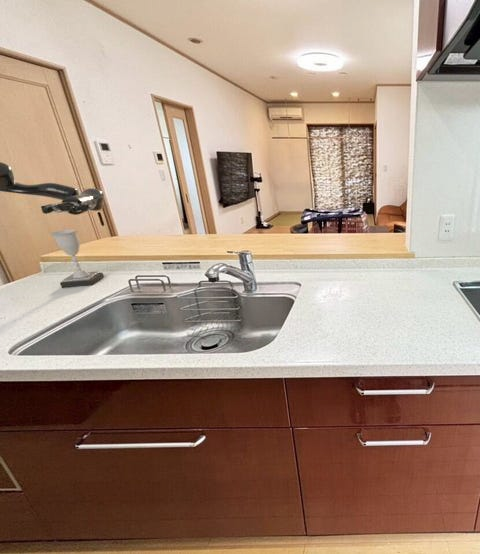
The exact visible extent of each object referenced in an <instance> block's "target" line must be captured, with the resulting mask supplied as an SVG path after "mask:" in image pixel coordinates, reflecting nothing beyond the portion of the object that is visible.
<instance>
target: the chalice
mask: <svg viewBox="0 0 480 554" xmlns="http://www.w3.org/2000/svg"><path fill="white" fill-rule="evenodd" d="M77 232H78V231H77V229H63V230H57V231H53V232H50V235H52V236H53V238H54V240H55V243H56V245H57V247H58V248H59V249H60V250H61V251H62V252H64V253H65V254H66V255H68V256H71V257H72V261H73V263H74V264H73V266H75V268H76V269H74V271H73V273H72V274H73V278H79V277H84V276H87V275H89V273H88V272H89V271H87V270H86V269H85V268H81V266H80V264H81V263H80V262H78V261H79V260H78V258H77V256H76V255H78V254H79V250H80V245H81V242H80V239H79V236H78V234H77Z"/></svg>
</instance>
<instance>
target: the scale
mask: <svg viewBox="0 0 480 554" xmlns="http://www.w3.org/2000/svg"><path fill="white" fill-rule="evenodd" d="M87 272H88V273H89V275H87V276H84V277H79V278H73V274H74V273H72V274H70V275H69V276H66V277H65V278H64V279H62V280H61V281H60V282H59V285H60V287H61V289H66V288H77V287H78V288H79V287H87V286H94V285H96V284H97V283H98V282H99V281H101V280H103V278H104V277H105V276H104V273H103V272H101V271H99V270H96V271H95V270H94V271H87Z"/></svg>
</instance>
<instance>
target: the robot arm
mask: <svg viewBox="0 0 480 554" xmlns="http://www.w3.org/2000/svg"><path fill="white" fill-rule="evenodd" d="M0 192H4V193H10V194H11V193H12V194H21V195H28V196H37V197H46V198H51V199H54V200H55V199H56V200H60V201H61V202H59V203H49V204H46V205H41V206H40V208H41V211H42V213H43V214H44V215H48V214H52V213H58V214H60V213H68V214H70V215H75V216H77V215H81V214H83V213H84V214H85V213H87V212H89V211H93V212H99V211H102V210H103V207H104V201H105V200H104V199H105V194H104V192H103V191H101V190H99V189H97V188H91V187H90V188H86V189H83V191H81V192H80V193H79V190H78V189H77V188H76V187H73V186H69V185H65V184H61V183H55V182H44V183H43V182H42V183H37V184H25V183H20V182H18V181H17V182H16V181H15V176H14V172H13V169H12V167H10V165H8V164H7V163H4V162H1V161H0Z"/></svg>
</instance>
